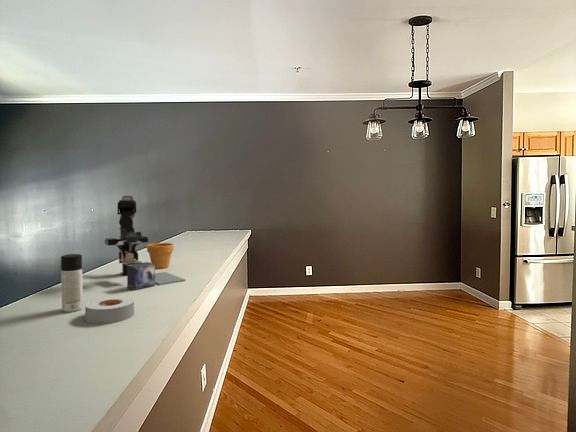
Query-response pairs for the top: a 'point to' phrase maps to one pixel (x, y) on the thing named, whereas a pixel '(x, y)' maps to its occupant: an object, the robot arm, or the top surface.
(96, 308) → the tape roll
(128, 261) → the turner
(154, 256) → the flower pot
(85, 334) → the top surface
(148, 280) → the small box
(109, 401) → the top surface
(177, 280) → the mat
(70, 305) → the spray can
